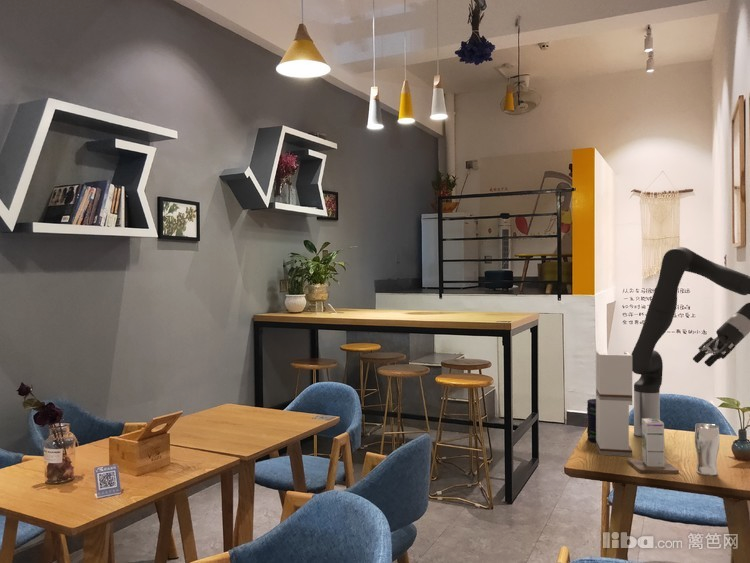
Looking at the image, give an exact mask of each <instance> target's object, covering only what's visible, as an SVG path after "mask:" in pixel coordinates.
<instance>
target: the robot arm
mask: <svg viewBox="0 0 750 563" xmlns="http://www.w3.org/2000/svg"><path fill="white" fill-rule="evenodd" d="M659 271H660V272H659V275H658V280H657V282H656V285H655V288H654V291H653V294H652V296H651V301H650V303H649V305H648V309H647V311H646V315H645V319H644V321H643V324H642V327H641V330H640V334H639V336H638V339H637V341H636V343H635V345H634V348H633V349H632V352H631V353H630V354H631V355H632V373H634V374H636V375H640V376H639V379H638V380H637V381H635V382H634V384H633V434H634V435H635V436H637V437H640V438H642V419H646V418H653V419H659V420H661V419H660V418H661V417H660V416H661V415H660V413H661V412H660V409H661V407H660V405H661V404H660V401H661V397H660V394H661V393H660V391H661V390H660V389H661V386H662V382H663V368H664V365H663V364H664V363H663V359H662V356H661V354H660V353H659V352H658V351H657V350H654V349H655V348H656V345H657V343H658V342H659V341H660V339H661V338H662V336H664V335H665V333H666V332H667V331H668V329H669V328H670V326H671V325H672V324H673V320H674V317H675V313H676V310H677V305H678V303H677V302H678V290H679V286H680V283H681V280H682V278H683V276H684V273H685V272H687V273H692V274H696V275H697V276H702V277H704V278H706V279H708V280H709V281H711V282H712V283H715V285H718V286H720V287H721V288H723V289H725V290H728V291H731V292H732V293H733V292H734V293H735V294H737V295H741V296H747V295H750V275H748V274H745V273H742V272H740V271H737V270H734V269H732V268H729V267H726V266H724V265H720V264H719V263H716V262H714V261H712V260H709V259H708V258H705V257H703V256H701V255H699V254H698V253H696V252H694V251H693V250H692V249H689V248H687V247H684V246H678V247H674V248H671V249H668V250H667V251H666V252H665V253H664V255H663V258H662V261H661V266H660V270H659ZM749 333H750V302H747V303H744V305H743V306H742V307H740V309H738V310H737V311H736V312H735V313H734V314H733V315H731V316H730V317H728V319H727V320H726V321H725V322H724V323H723V324H722V325H720V326H719V328H718V329H717V330H716V335H717V336H716V337H715V338H713V337H712V336H711V337H709V338H707V339H706V340H705V342H703V343H702V344H701V345H700V346H699V347H698V348H697V349H698V350H699V351H698V352H697V353H696V354H695V355H694V356H693V357H692V360H693V362H695V363H696V364H699V363H700V362H701V361H702V360H703V359H705V357H706V356H708V355H709V354H711V355H710V356H708V358H706V359H705V360H704V364H705V365H706V366H707V367H710V368H711V366H713V365H714V364H715V362H717V361H718V360H720V359H723V360H724V359H725V358H726V357H727V356H729V354H730V353H731V352H732V351H733V350H734V349H735V348H736V346H737V345H738V344H739V343H740V342H741V341H742V340H743V339H745V338H746V337H747V336H748V335H749Z"/></svg>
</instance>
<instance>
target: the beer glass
mask: <svg viewBox="0 0 750 563" xmlns="http://www.w3.org/2000/svg"><path fill="white" fill-rule="evenodd" d="M694 429H695V430H694V445H695V450H696V456H697V465H696V470H695V471H696V473H698V474H699V475H703V476H711V477H712V476H713V477H715V476H718V475H719V474H718V473H719V471H718V468H717V466H718V465H717V459H718V455H719V454H718V453H719V450H720V426H719V425H716V424H713V423H705V422H704V423H703V422H702V423H701V422H700V423H695V426H694Z"/></svg>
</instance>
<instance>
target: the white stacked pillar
mask: <svg viewBox="0 0 750 563" xmlns="http://www.w3.org/2000/svg"><path fill="white" fill-rule="evenodd" d="M631 354H632V353H630V352H628V351H623V354H606V353H602V352H601V351H600V350H596V351H595V359H596V360H595V399H596V443H595V446H596V448H597V450H598V453H599V455H604V456H605V455H606V456H607V455H608V456H623V457H633V449H632V448H631V446H630V435H629V434H630V418H629V417H630V406H633V371H632V355H631Z"/></svg>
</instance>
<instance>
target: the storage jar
mask: <svg viewBox="0 0 750 563" xmlns="http://www.w3.org/2000/svg"><path fill="white" fill-rule="evenodd" d="M586 414H587V422H588V423H587V426H586V429H587V430H586V433H587V434H586V435H587V441H588V442H589V441H590V442H589V443H592V444H596V398H592V399H591V398H590V399H588V400H587V407H586Z"/></svg>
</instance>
